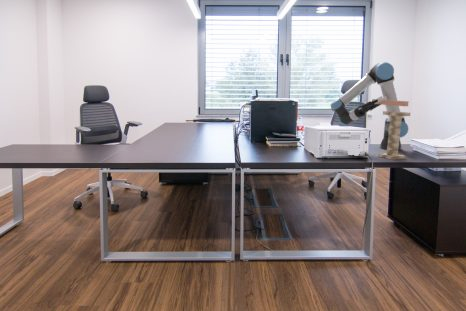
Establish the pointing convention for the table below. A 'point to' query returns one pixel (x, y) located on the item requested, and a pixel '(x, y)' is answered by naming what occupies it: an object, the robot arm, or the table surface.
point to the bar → (393, 102)
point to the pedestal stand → (394, 135)
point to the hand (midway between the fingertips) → (384, 98)
